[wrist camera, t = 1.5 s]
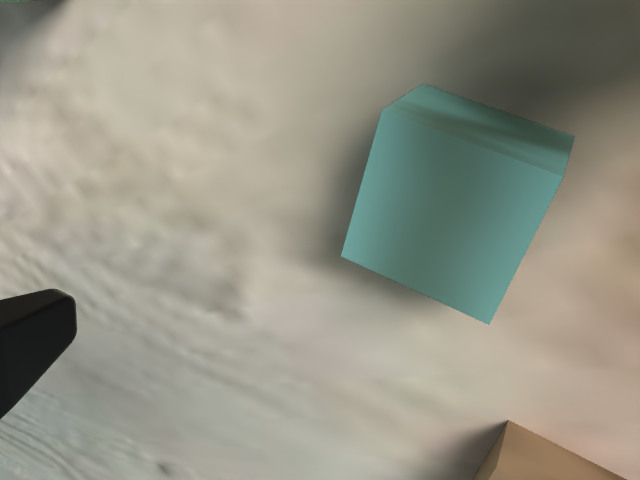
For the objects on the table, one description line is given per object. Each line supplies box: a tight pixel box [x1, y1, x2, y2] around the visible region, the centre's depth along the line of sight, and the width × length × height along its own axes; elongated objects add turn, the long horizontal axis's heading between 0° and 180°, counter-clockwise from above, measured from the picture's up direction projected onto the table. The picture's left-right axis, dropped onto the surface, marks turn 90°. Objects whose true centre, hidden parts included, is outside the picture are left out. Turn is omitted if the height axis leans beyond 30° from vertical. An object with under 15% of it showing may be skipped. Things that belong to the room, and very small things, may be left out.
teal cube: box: [341, 84, 574, 324], centre depth 17 cm, size 5×5×4 cm
